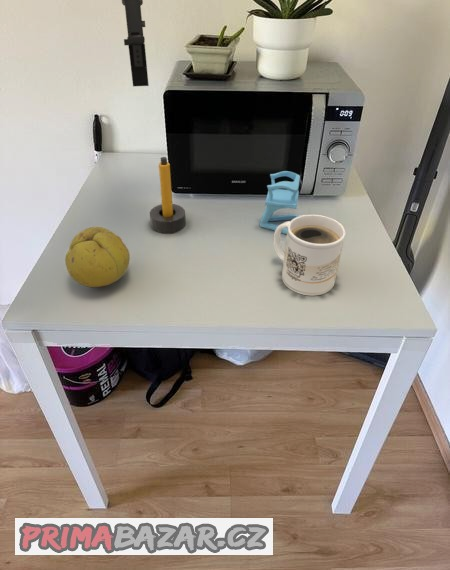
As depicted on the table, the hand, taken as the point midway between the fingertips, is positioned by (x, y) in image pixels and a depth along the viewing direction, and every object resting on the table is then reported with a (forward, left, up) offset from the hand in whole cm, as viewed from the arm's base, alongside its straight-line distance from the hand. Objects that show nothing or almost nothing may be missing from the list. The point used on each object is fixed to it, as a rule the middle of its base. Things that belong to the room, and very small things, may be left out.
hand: (139, 75), depth 83 cm
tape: (+3, -7, -29) cm, 30 cm away
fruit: (-11, -24, -29) cm, 39 cm away
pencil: (+3, -7, -29) cm, 30 cm away
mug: (+27, -29, -29) cm, 49 cm away
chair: (+27, -11, -29) cm, 41 cm away
